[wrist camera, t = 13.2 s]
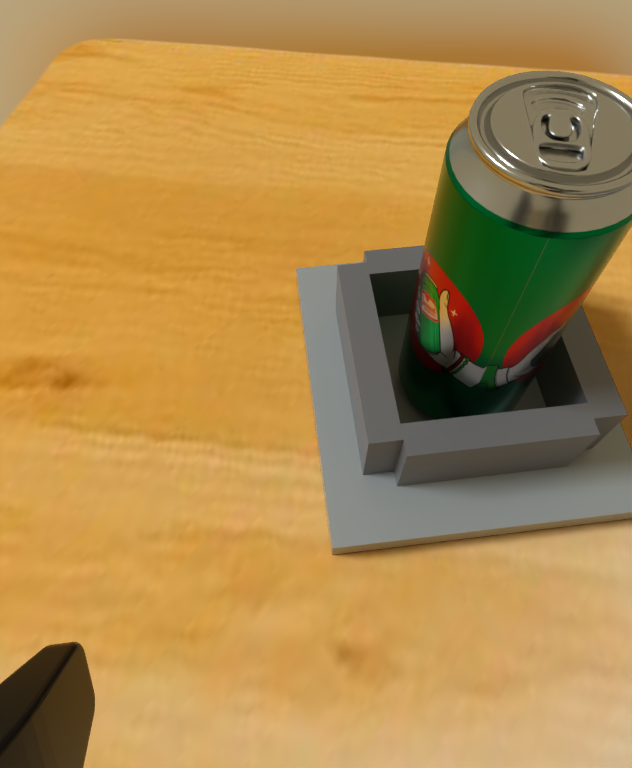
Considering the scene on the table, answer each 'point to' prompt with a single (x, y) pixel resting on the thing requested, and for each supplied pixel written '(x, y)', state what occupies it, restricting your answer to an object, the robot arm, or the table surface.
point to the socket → (450, 426)
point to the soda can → (516, 238)
